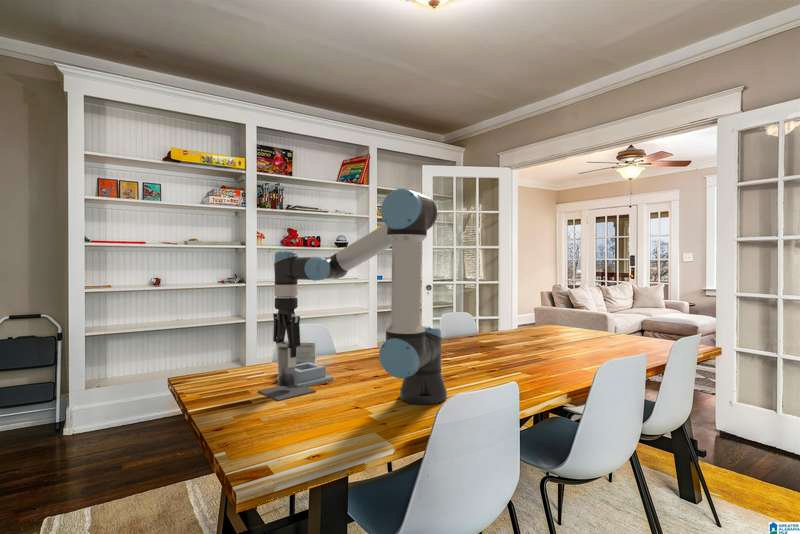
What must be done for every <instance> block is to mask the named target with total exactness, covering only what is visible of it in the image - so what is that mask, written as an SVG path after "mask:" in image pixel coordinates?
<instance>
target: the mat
mask: <svg viewBox="0 0 800 534" xmlns="http://www.w3.org/2000/svg"><path fill="white" fill-rule="evenodd" d="M316 392H317V390H316V389H312V388H310V387H309V386H307V387H305V386H302V387H295V386H293V385H291V386H279V385H277V386H272V387H268V388H267V387H266V388H263V389H259V390H257V393H259V394H262V395H264V396H266V397H269V398H270V399H273V400H275V401H277V402H280V401H284V400H288V399H293V398H296V397H300V396H305V395H308V394H312V393H316Z"/></svg>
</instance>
